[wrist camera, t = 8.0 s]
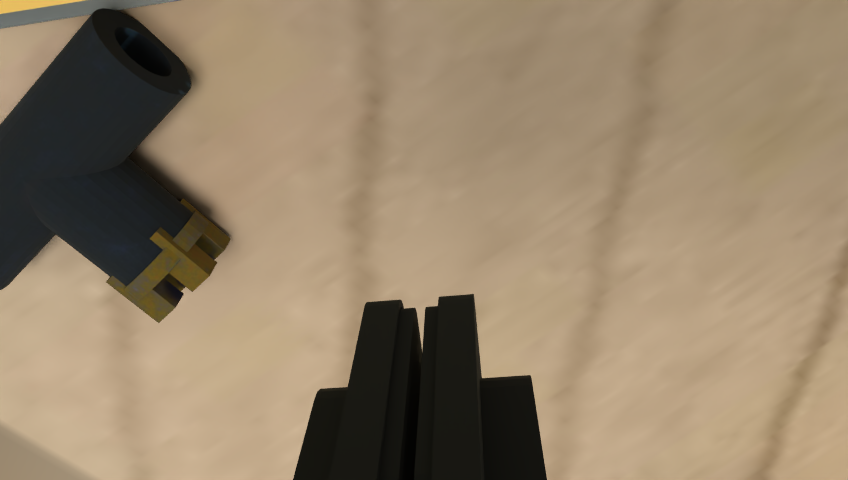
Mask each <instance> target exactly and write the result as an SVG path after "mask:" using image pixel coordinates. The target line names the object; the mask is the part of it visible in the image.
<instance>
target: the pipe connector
mask: <svg viewBox="0 0 848 480" xmlns="http://www.w3.org/2000/svg"><path fill="white" fill-rule="evenodd" d="M190 88H191V81H190V77H189V74H188V72H187V70H186V68H185V66H184V65H183V63H182V62H181V60H180V59H179V58H178V57H177V56H176V55H175V54H174V53H173V52H172V51H171V50H170V49H169V48H167V47H166V46H165V45H164V44H163V43H162V42H161V41H160V40H159V39H158V38H157V37H155V36H154V35H153V34H152V33H151V32H150V31H149V30H148V29H147V28H146V27H145V26H143V25H142V24H141V23H139V22H138V21H136V20H135V19H133V18H131V17H129V16H127V15H125V14H123V13H121V12H118V11H115V10H112V9H105V8H102V9H97V10H96V11H94V12H93V13H92V15H91V16H90V17H89V18H88V19H87V21H86V22H85V23H84V24H83V26H82V27H81V28H80V29H79V30H78V32H77V33H76V34H75V35H74V36H73V38H72V39H71V40H70V41H69V42H68V44H67V45H66V46H65V47H64V48H63V50H62V51H61V52H60V53H59V55H58V56H57V57H56V58H55V59H54V61H53V62H52V63H51V64H50V65H49V67H48V68H47V69H46V70H45V71H44V73H43V74H42V75H41V76H40V77H39V79H38V80H37V81H36V82H35V84H34V85H33V86H32V87H31V88H30V90H29V91H28V92H27V93H26V94H25V96H24V97H23V98H22V99H21V100H20V102H19V103H18V104H17V105H16V106H15V108H14V109H13V110H12V111H11V113H10V114H9V115H8V116H7V117H6V119H5V120H4V121H3V122H2V123H1V125H0V290H1V289H3V288H5V287H6V286H8V285H9V284H10V283H11V282H12V281H13V279H14V278H15V277H16V276H17V275H18V274H19V273H20V272H21V271H22V270H23V269H24V268H25V267H26V265H27V264H28V263H29V262H30V261H31V260H32V259H33V258H34V257H35V256H36V255H37V254H38V253H39V252H40V250H41V249H42V248H43V247H44V246H45V245H46V244H47V243H48V242H49V241H50V240H51V239H52V238H53V236H54V235H55V234H56V235H58V236H59V237H60V238H61V239H63V240H64V241H65V242H67V243H68V244H69V245H70V246H72V247H73V248H74V249H76V250H77V251H78V252H79V253H81V254H82V255H83V256H85V257H86V258H87V259H88V260H90V261H91V262H92V263H93V264H95V265H96V266H97V267H99V268H100V269H101V270H102V271H104V272H105V273H106V274H108V275H109V276H110V278H109V279H108V280H107V283H108V284H109V285H110V286H112V287H113V288H114V289H116V290H117V291H118V292H119V293H121V294H122V295H123V296H125V297H126V298H127V299H128V300H130V301H131V302H132V303H134V304H135V305H136V306H137V307H139V308H140V309H141V310H143V311H144V312H145V313H146V314H148V315H149V316H150V317H152V318H153V319H154V320H155V321H157V322H158V323H159V322H160V321H162V320H163V319H164V318H165V317H166V316H167V315H168V314H169V313H170V312H171V311H172V310H173V309H174V308H175V307H176V306H177V304H178V302H179V301H180V299H181V298H182V296H183V293H182V292H181V291H182V290H183V289H184V288H185V287H187V288H188V289H189V290H191V291H192V292H193V291H194V290H195V289H196V288H197V287H198V286H199V285H200V284H201V283H202V282H203V281H204V280H206V279H207V278H208V277H209V276H210V274H211V272H212V271H213V269H214V267H215V265H216V264H217V262H216V261H215V259H216V258H217V257H218V256H219V255H220V254H221V253H222V252H223V251H224V250H225V248H226V246H227V245H228V243H229V241H230V238H229V237H228V236H227V235H226V234H224V233H223V232H222V231H221V230H220V229H219V228H217V227H216V226H215V225H214V224H213V223H212V222H210V221H209V220H208V219H207V218H206V217H205V216H203V215H202V214H201V213H200V212H199V211H198V210H196V209H195V208H194V207H193V206H192V205H191V204H189V203H188V202H187V201H186V200H185V199H184V198H183V199H182V200H181V201H180V202H179V201H178V200H177V199H176V198H175V197H174V196H172V195H171V194H170V193H169V192H168V191H167V190H165V189H164V188H163V187H162V186H161V185H160V184H158V183H157V182H156V181H155V180H154V179H153V178H151V177H150V176H149V175H148V174H147V173H146V172H144V171H143V170H142V169H141V168H140V167H138V166H137V165H136V164H135V163H134V162H133V161H131V160H130V159H129V158H128V156H129V155H130V154H131V153H132V152H133V151H134V150H135V148H136V147H137V146H138V145H139V144H140V143H141V142H142V141H143V140H144V139H145V138H146V137H147V136H148V134H149V133H150V132H151V131H152V130H153V129H154V128H155V127H156V126H157V125H158V124H159V123H160V122H161V121H162V119H163V118H164V117H165V116H166V115H167V114H168V113H169V112H170V111H171V110H172V109H173V108H174V107H175V106H176V104H177V103H178V102H179V101H180V100H181V99H182V98H183V97H184V96H185V95H186V94H187V93H188V91H189V90H190Z"/></svg>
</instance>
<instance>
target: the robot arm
mask: <svg viewBox="0 0 848 480" xmlns="http://www.w3.org/2000/svg"><path fill="white" fill-rule="evenodd" d="M293 480H547V478H546V471H545V464H544V458H543V451H542V445H541V438H540V431H539V425H538V418H537V412H536V405H535V399H534V392H533V385H532V380H531V376H530V375H526V376H511V377H496V378H482V376H481V366H480V355H479V344H478V334H477V323H476V312H475V302H474V294H470V295H457V296H443V297H439V300H438V306H434V307H426V309H425V323H424V337H423V352H422V348H421V340H420V333H419V326H418V318H417V312H416V309H415V308H407V309H404V308H403V303H402V301H401V300H390V301H377V302H367V303H366V304H365V307H364V312H363V317H362V321H361V326H360V331H359V336H358V341H357V345H356V350H355V355H354V360H353V365H352V369H351V374H350V379H349V384H348V387H343V388H328V389H320V390H319V391H318V392H317V394H316V397H315V400H314V403H313V407H312V411H311V415H310V418H309V422H308V426H307V430H306V433H305V437H304V441H303V445H302V448H301V452H300V456H299V460H298V463H297V467H296V471H295V475H294V478H293Z"/></svg>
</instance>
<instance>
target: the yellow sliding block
mask: <svg viewBox="0 0 848 480" xmlns="http://www.w3.org/2000/svg"><path fill="white" fill-rule="evenodd" d="M79 1H85V0H0V14H3V13H10V12H16V11H22V10H29V9H35V8H41V7H47V6H54V5H60V4H66V3H73V2H79Z"/></svg>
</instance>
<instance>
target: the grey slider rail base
mask: <svg viewBox="0 0 848 480" xmlns="http://www.w3.org/2000/svg"><path fill="white" fill-rule="evenodd" d="M173 1H179V0H85V1H79V2H73V3H66V4H60V5H54V6H47V7H41V8H35V9H29V10H22V11H16V12H10V13H3V14H0V29H1V28H7V27H14V26H20V25H26V24H33V23H39V22H45V21H52V20H58V19H65V18H71V17H77V16H84V15H90V14H92V13H93V12H94V11H96V10H97V9H102V8H105V9H112V10H122V9H128V8H134V7H141V6H147V5H154V4H160V3H166V2H173Z"/></svg>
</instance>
